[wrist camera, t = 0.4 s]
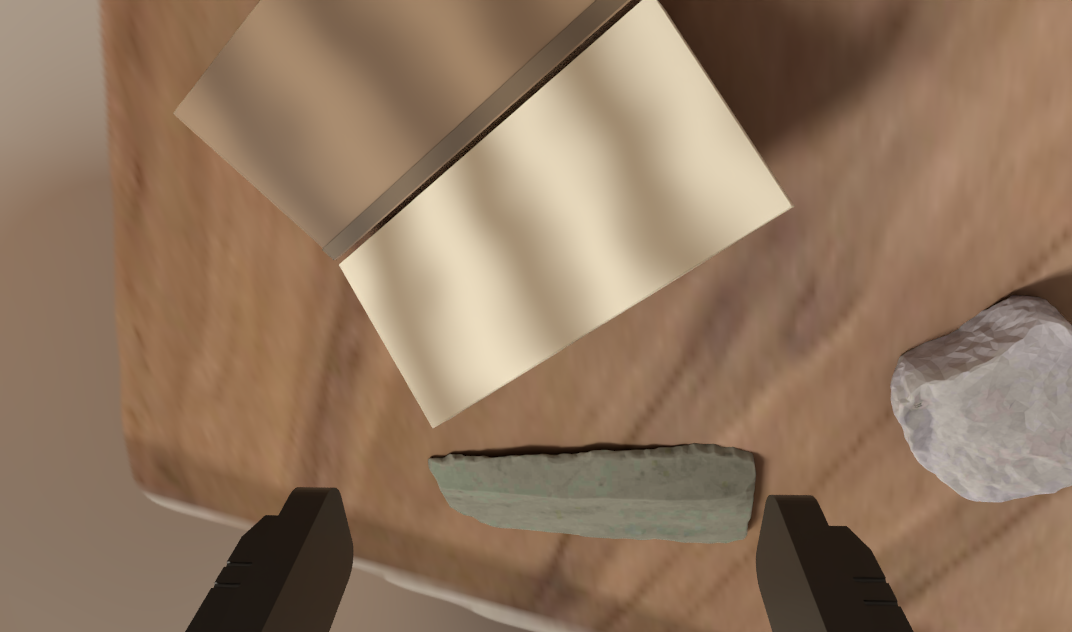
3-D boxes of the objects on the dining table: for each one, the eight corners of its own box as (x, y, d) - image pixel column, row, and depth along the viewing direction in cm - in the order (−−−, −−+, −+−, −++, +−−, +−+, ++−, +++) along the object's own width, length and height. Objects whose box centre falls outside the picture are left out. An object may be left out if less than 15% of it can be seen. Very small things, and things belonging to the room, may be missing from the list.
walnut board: (480, -260, 22) (469, -273, 21) (645, -21, 26) (647, -14, 24) (196, 101, 31) (171, 114, 29) (349, 242, 35) (335, 261, 33)
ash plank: (663, 6, 26) (651, -8, 24) (794, 206, 25) (792, 206, 23) (364, 261, 35) (339, 264, 33) (453, 416, 34) (432, 428, 32)
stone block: (943, 457, 42) (1131, 410, 36) (959, 520, 38) (1171, 479, 32) (849, 344, 38) (1042, 269, 32) (857, 402, 34) (1076, 330, 28)
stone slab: (743, 519, 47) (755, 437, 40) (748, 553, 45) (762, 473, 38) (457, 514, 51) (426, 438, 44) (450, 546, 49) (416, 471, 42)
